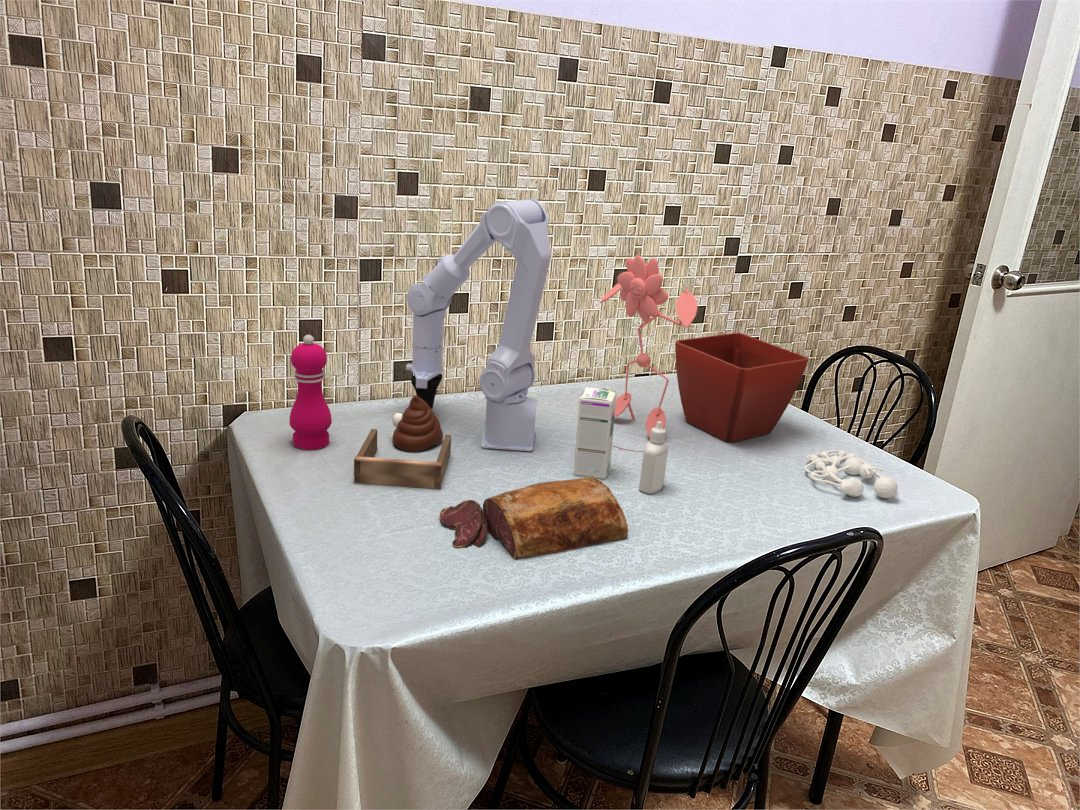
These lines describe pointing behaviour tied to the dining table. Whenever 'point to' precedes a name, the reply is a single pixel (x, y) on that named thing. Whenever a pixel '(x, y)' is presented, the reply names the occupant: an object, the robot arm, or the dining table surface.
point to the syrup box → (594, 432)
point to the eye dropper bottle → (654, 461)
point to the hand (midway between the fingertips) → (426, 411)
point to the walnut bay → (399, 467)
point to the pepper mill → (309, 397)
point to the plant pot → (735, 384)
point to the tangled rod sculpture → (852, 466)
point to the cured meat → (541, 518)
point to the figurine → (647, 319)
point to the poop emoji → (416, 427)
